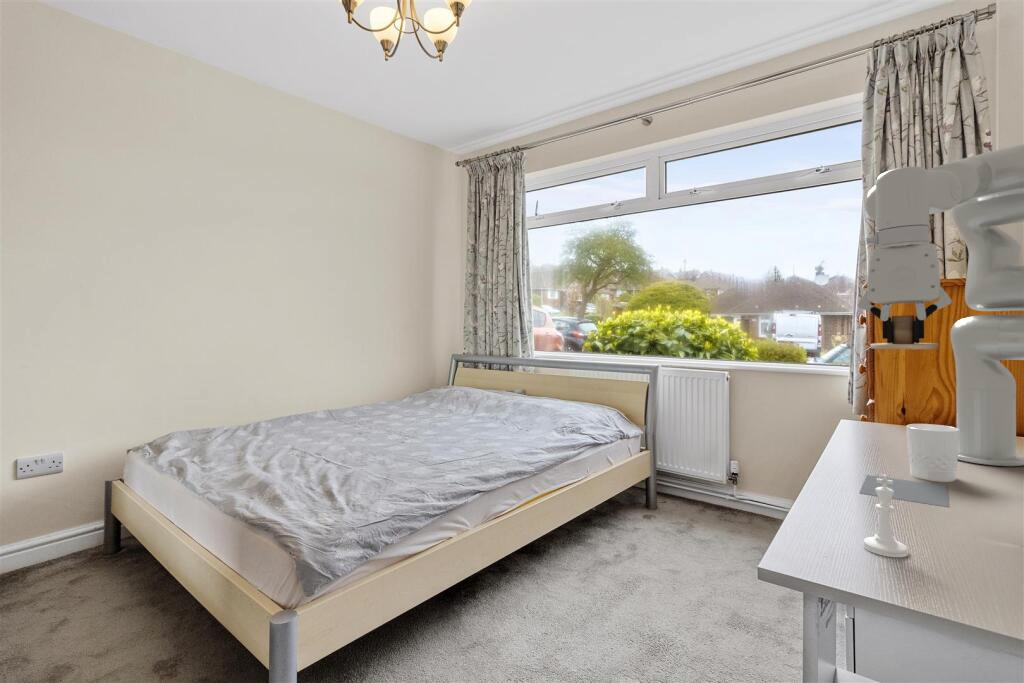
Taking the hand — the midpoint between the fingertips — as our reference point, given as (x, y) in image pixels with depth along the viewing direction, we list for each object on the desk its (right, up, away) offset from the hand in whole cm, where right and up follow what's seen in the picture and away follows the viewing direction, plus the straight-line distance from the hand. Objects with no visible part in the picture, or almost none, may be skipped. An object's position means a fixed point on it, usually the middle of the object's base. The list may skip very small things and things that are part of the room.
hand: (903, 342), depth 90 cm
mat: (0, -27, 0) cm, 27 cm away
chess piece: (-20, -28, -23) cm, 41 cm away
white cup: (+12, -27, +8) cm, 30 cm away
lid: (0, -1, 0) cm, 1 cm away
